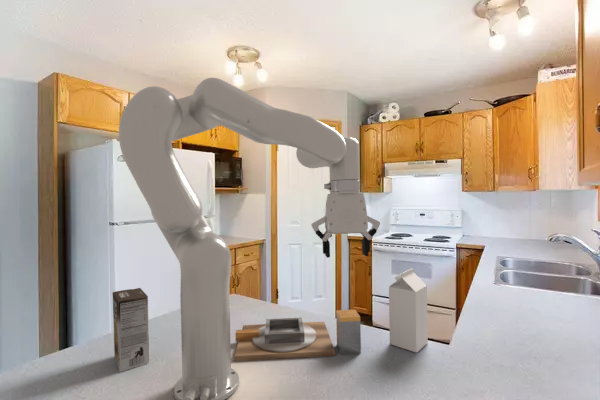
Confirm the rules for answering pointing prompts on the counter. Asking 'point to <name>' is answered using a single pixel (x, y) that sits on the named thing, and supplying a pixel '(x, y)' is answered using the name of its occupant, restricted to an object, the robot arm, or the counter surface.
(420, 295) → the milk carton
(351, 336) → the grey orange block
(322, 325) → the rosette board
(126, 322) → the coffee box
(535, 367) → the counter surface
